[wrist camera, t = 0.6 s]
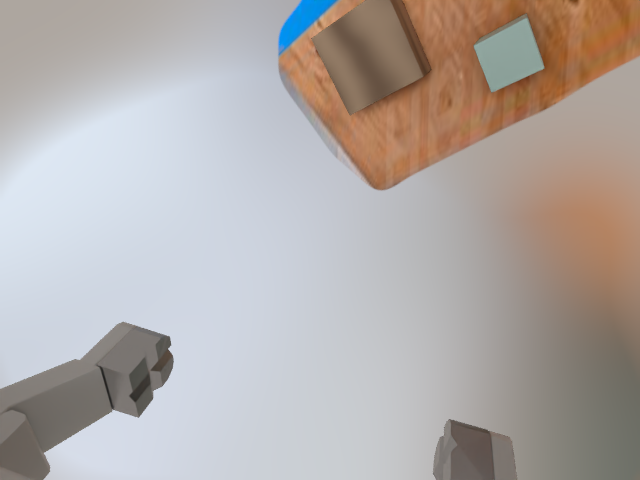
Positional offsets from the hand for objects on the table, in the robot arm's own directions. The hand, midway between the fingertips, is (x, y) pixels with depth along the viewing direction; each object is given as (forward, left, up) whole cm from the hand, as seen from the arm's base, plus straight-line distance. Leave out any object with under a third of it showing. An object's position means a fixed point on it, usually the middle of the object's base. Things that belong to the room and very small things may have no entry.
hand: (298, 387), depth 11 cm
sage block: (-5, -1, -48) cm, 48 cm away
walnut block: (+9, -8, -47) cm, 49 cm away
